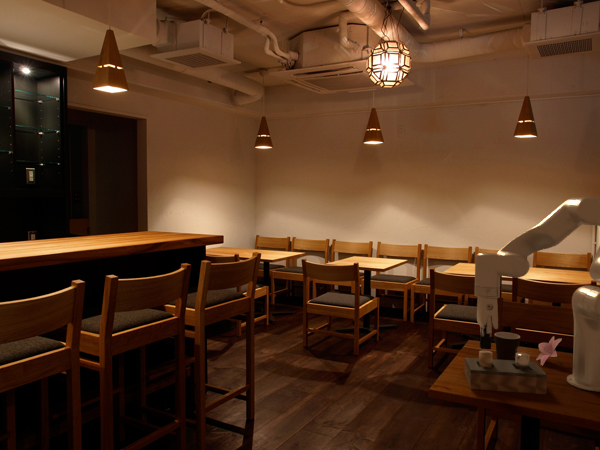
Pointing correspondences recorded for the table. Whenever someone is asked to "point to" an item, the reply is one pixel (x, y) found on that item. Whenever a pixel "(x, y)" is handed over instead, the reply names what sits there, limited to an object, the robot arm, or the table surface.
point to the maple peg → (485, 358)
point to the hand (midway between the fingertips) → (485, 348)
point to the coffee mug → (506, 345)
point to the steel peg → (522, 361)
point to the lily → (548, 350)
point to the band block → (505, 377)
